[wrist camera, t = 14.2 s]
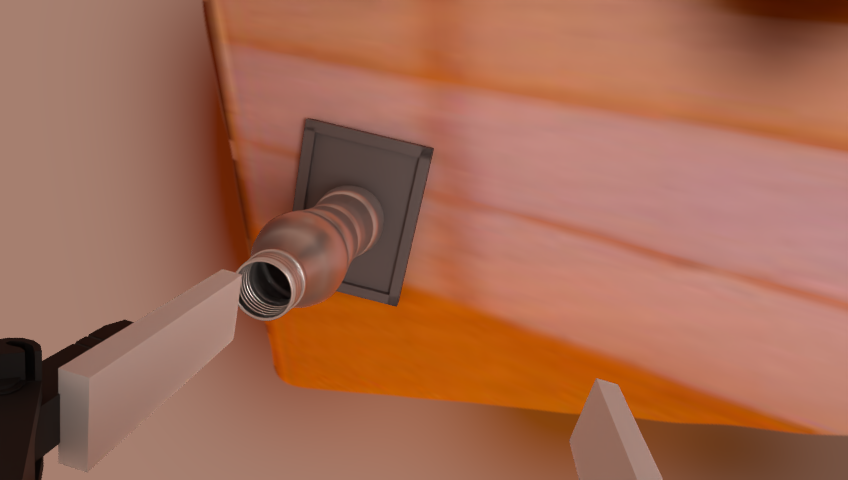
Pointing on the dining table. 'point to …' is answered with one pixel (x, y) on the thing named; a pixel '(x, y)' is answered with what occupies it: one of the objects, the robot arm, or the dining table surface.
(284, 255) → the plastic bottle
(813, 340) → the dining table surface
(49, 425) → the robot arm
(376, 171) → the tray
